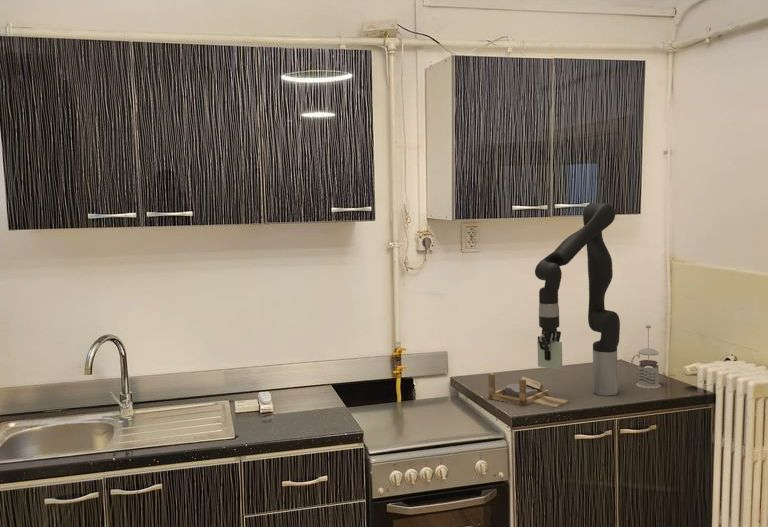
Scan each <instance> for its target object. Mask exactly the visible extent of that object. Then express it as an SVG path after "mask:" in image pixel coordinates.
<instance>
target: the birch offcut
mask: <svg viewBox="0 0 768 527" xmlns="http://www.w3.org/2000/svg"><path fill="white" fill-rule="evenodd" d="M521 379H526V387H527V388H530V389H537V392H539V393H540V392H542V391H544V390H545V385H543V383H542V382H539V381H536V380H533V379H531V378H528V377H526V376H522V377H521Z"/></svg>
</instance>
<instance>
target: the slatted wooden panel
mask: <svg viewBox="0 0 768 527" xmlns="http://www.w3.org/2000/svg"><path fill="white" fill-rule="evenodd" d="M566 403H567V404H568V403H569V400H568V399H562V398H559V397H558V398H557V397H552V396H549V395H548V396H544V397H542V398H540V399H537V400H535V401H533V402H532V404H537V405H542V406H545V407H550V408H559V407H560V406H563V405H565V404H566Z"/></svg>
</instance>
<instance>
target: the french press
mask: <svg viewBox="0 0 768 527" xmlns="http://www.w3.org/2000/svg"><path fill="white" fill-rule="evenodd" d="M645 328H646V329H647V347H646V348H641V349H639V350H638V351H637V353H638V354H636V355H634V356H633V357H632V358H631V361H630V363H631V365H630V366H631V368H632V370H633V371H634V372H636V373H637V382H636V383H635V386H636V385H637V386H636V387H639V388H641V387H642V389H650V388H652V389H658V388H662V385H661V384H660V383H659V379H660V378H659V377H660V376H659V374H660V372H659V371H660V370H659V368H660V367H659V365H658V363H659V362H658V361H657V360H654V359H650V356H658V355H659V354H660V352H659V351H657V350H656V349H653V348H650V346H649V344H650V343H649V342H650V341H649V336H650V335H649V332H650V331H649V330H650V329H651V325H649V324H647V325H645ZM641 355H643V356H647V359H641V360H639V361H638V362H639V365H638V368H635V365H634V364H633V361H634V359H635V357H637V358H638V359H640V356H641Z"/></svg>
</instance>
